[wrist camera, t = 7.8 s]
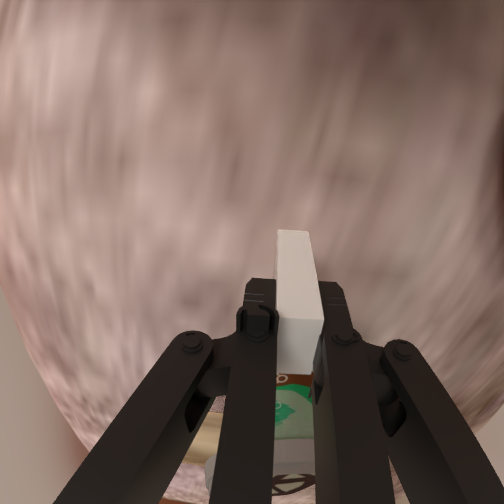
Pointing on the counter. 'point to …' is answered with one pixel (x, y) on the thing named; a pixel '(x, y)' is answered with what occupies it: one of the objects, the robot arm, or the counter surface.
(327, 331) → the robot arm
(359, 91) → the counter surface
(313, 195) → the counter surface
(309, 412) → the food container
